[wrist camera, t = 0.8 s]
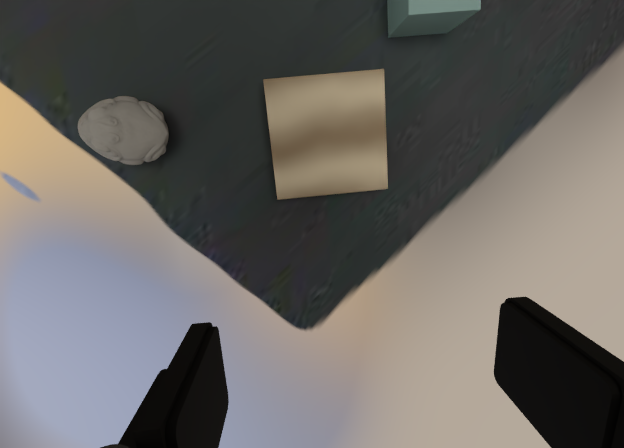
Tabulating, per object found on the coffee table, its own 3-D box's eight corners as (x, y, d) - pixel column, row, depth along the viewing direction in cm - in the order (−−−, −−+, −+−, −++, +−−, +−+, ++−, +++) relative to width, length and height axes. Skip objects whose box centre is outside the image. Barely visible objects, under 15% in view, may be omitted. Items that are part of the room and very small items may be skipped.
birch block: (266, 86, 33) (263, 79, 29) (373, 77, 34) (383, 68, 30) (279, 193, 36) (277, 199, 32) (377, 183, 36) (388, 188, 32)
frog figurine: (109, 99, 32) (60, 87, 26) (181, 102, 33) (152, 92, 26) (116, 161, 34) (71, 166, 27) (185, 164, 34) (158, 169, 27)
